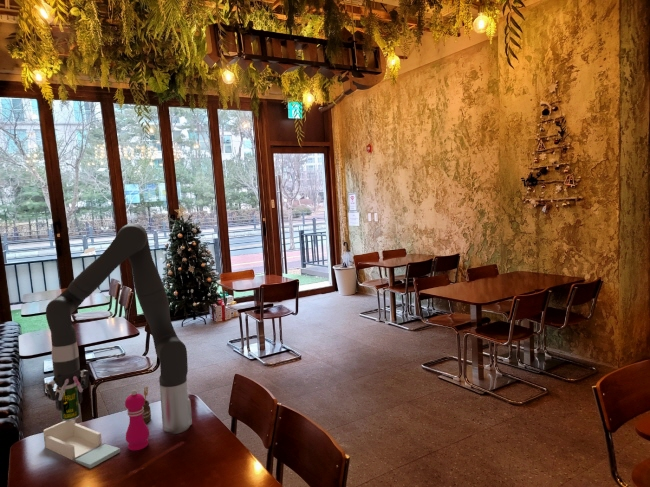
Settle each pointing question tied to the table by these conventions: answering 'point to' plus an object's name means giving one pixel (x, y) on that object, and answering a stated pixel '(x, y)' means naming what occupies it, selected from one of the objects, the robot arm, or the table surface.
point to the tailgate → (96, 455)
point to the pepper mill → (136, 422)
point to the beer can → (70, 403)
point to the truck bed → (71, 439)
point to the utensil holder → (146, 408)
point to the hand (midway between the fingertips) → (70, 406)
